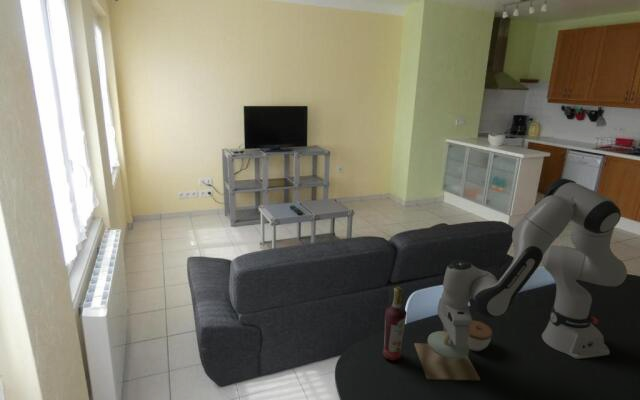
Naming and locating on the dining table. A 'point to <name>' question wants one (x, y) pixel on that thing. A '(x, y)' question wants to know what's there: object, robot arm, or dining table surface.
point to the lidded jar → (479, 336)
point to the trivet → (444, 365)
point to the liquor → (394, 327)
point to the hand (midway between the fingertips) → (448, 340)
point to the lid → (446, 346)
